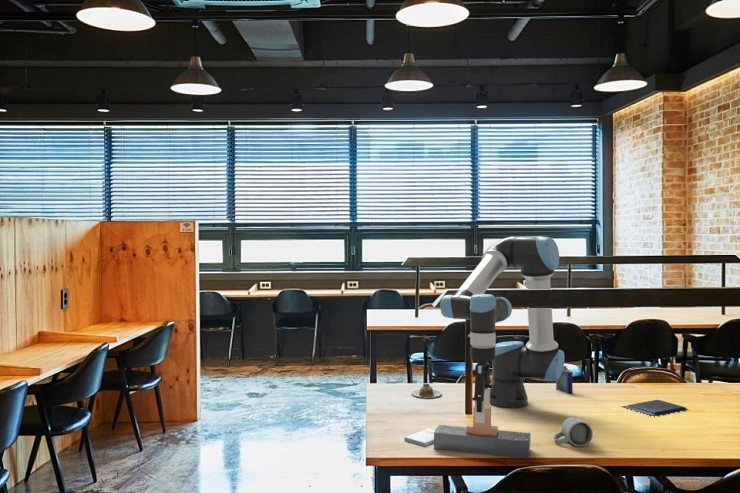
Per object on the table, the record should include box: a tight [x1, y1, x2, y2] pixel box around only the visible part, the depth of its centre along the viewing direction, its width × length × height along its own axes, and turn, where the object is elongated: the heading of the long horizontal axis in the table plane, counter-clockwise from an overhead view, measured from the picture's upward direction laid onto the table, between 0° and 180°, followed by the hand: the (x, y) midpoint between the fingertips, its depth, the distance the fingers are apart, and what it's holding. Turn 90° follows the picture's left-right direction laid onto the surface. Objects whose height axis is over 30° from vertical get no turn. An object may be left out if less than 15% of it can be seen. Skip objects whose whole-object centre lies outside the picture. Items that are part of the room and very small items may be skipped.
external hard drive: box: [403, 428, 436, 447], centre depth 201 cm, size 2×8×12 cm
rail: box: [433, 424, 531, 460], centre depth 191 cm, size 8×28×5 cm, turn 73°
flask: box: [555, 364, 574, 395], centre depth 260 cm, size 9×3×11 cm, turn 21°
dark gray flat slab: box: [620, 399, 689, 418], centre depth 235 cm, size 20×2×15 cm
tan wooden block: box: [466, 404, 499, 436], centre depth 191 cm, size 3×9×12 cm, turn 73°
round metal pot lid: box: [411, 383, 442, 399], centre depth 254 cm, size 12×12×5 cm
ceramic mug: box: [553, 416, 593, 447], centre depth 197 cm, size 11×8×8 cm
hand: (482, 415), depth 191 cm, fingers open, 13 cm apart
